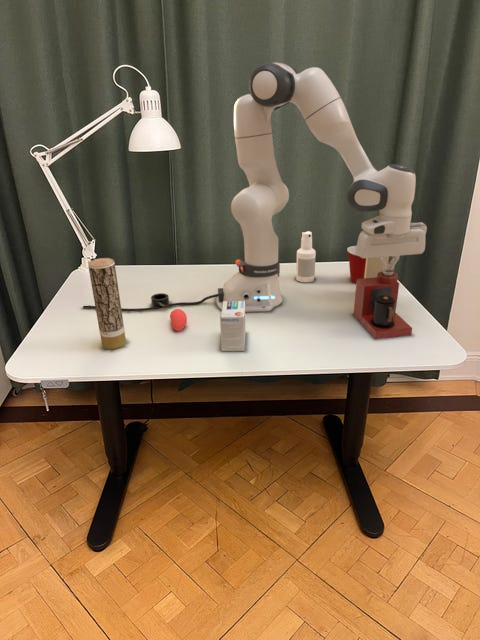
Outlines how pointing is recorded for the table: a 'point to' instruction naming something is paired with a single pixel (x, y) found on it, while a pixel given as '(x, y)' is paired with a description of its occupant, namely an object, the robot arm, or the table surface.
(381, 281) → the coffee maker
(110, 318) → the paper tube
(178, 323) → the red bean-shaped piece
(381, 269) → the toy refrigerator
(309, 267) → the spray bottle
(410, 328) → the warming base
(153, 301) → the duct tape
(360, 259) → the plastic cup
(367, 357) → the table surface
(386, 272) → the power button
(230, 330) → the light bulb box
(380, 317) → the kettle
